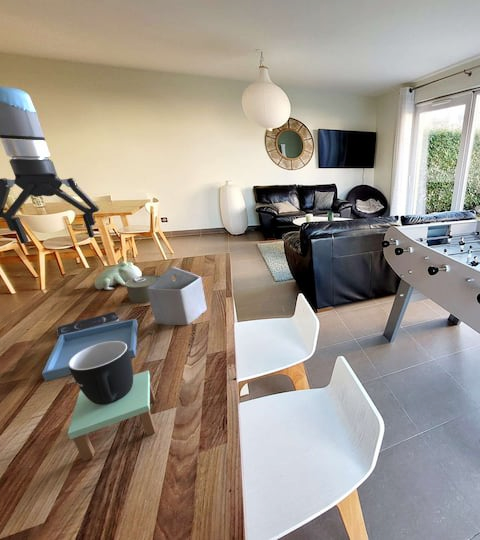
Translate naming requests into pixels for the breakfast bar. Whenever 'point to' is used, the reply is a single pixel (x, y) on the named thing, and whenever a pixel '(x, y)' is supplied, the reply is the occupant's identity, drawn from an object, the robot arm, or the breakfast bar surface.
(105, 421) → the stool
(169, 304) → the planter
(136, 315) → the breakfast bar surface
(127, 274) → the figurine
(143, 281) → the can
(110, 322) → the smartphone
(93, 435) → the breakfast bar surface
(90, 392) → the mug
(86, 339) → the tray
